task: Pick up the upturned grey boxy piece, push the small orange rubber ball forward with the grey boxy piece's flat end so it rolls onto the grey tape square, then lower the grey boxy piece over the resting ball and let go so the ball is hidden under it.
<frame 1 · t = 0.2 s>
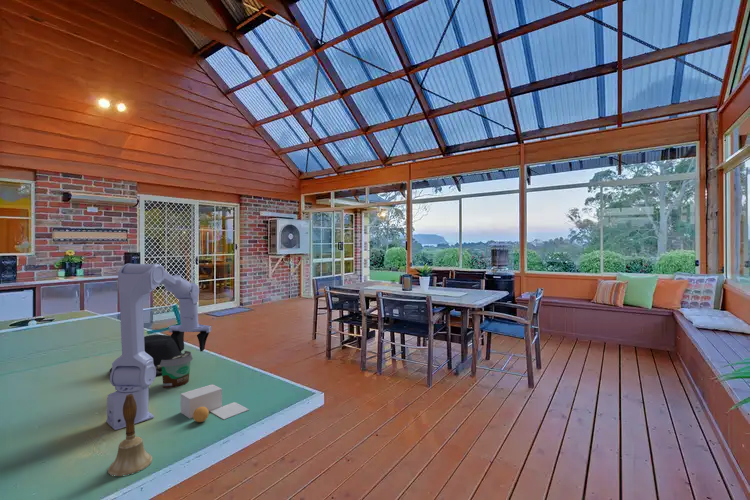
hand: (192, 350, 133), 11 cm above the table, tool pointing down, fingers open, 7 cm apart
ball: (201, 414, 101), on the table
fedora: (152, 368, 144), on the table
food container: (180, 384, 128), on the table
grey boxy piece: (201, 409, 108), on the table
hand bell: (130, 466, 81), on the table
tape mark: (229, 410, 108), on the table
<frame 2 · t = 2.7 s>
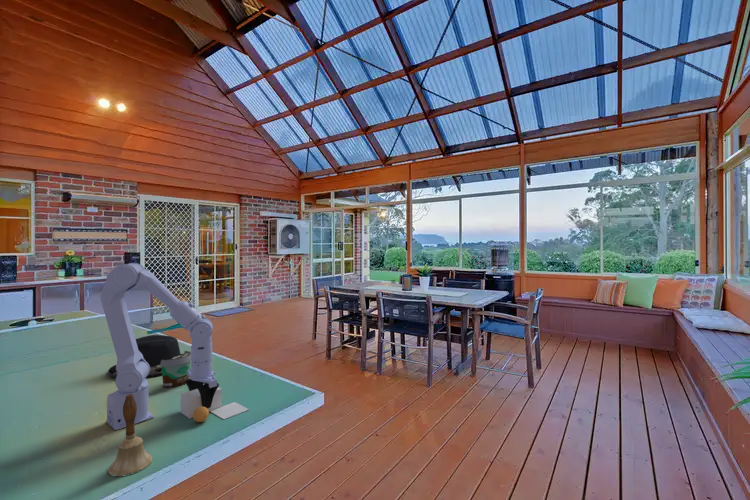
hand: (201, 405, 108), 1 cm above the table, tool pointing down, fingers closed on grey boxy piece, 6 cm apart
grey boxy piece: (201, 409, 108), on the table, touching gripper
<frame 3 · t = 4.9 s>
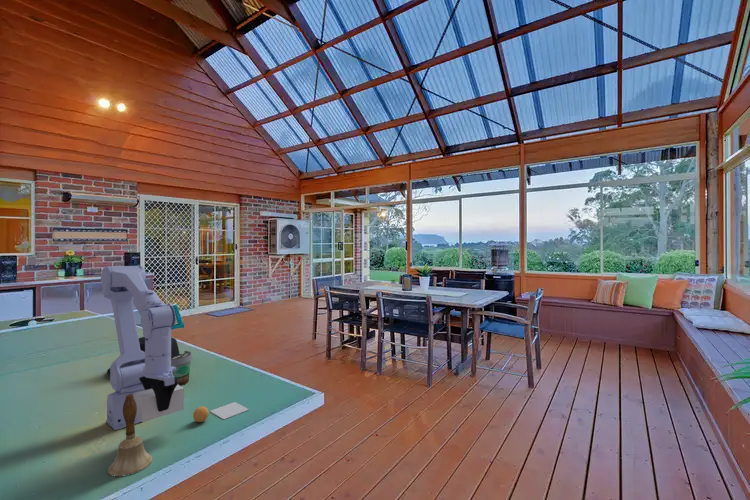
hand: (158, 406, 92), 8 cm above the table, tool pointing down, fingers closed on grey boxy piece, 6 cm apart
grey boxy piece: (159, 412, 92), point 6 cm above the table, touching gripper
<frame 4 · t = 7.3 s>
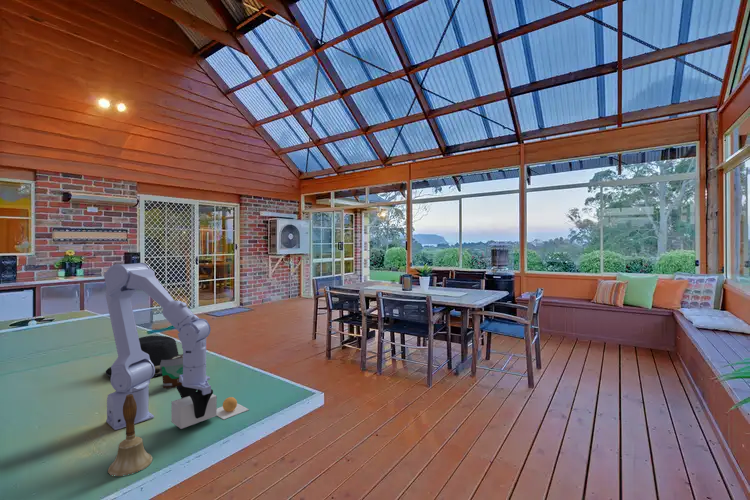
hand: (194, 413, 100), 3 cm above the table, tool pointing down, fingers closed on grey boxy piece, 6 cm apart
ball: (229, 404, 107), on the table
grey boxy piece: (194, 418, 100), point 1 cm above the table, touching gripper
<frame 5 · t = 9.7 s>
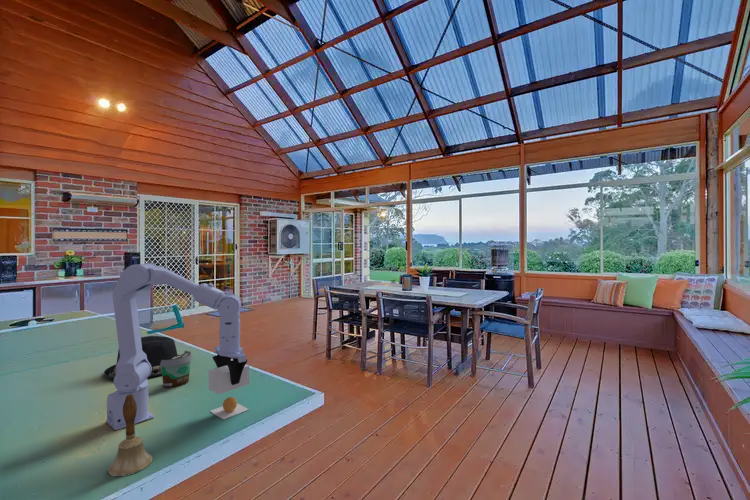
hand: (229, 381, 108), 9 cm above the table, tool pointing down, fingers closed on grey boxy piece, 6 cm apart
grey boxy piece: (229, 386, 107), point 7 cm above the table, touching gripper
when the fingers open (2 cm above the table, at t = 11.9 s): grey boxy piece stays where it is, on the table.
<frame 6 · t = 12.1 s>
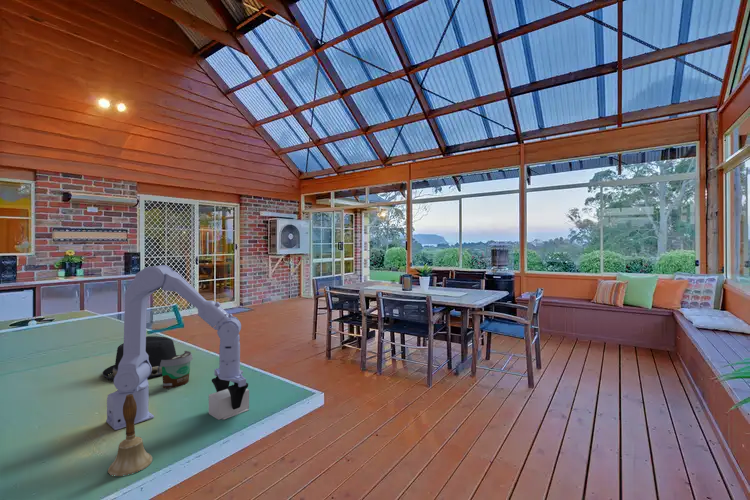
hand: (229, 404, 108), 2 cm above the table, tool pointing down, fingers open, 7 cm apart
grey boxy piece: (229, 410, 108), on the table
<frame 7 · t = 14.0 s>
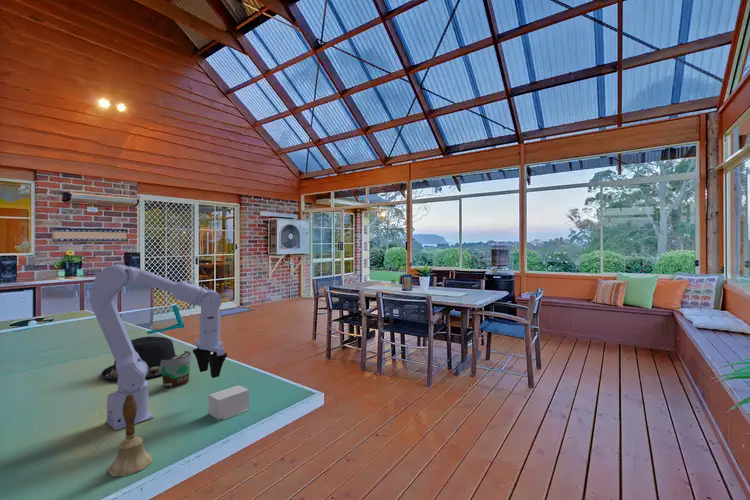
hand: (209, 374, 111), 10 cm above the table, tool pointing down, fingers open, 7 cm apart
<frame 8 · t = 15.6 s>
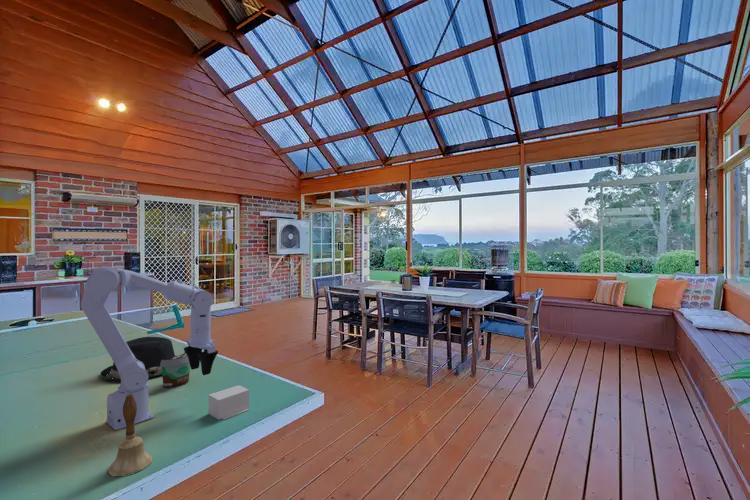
hand: (200, 371, 113), 10 cm above the table, tool pointing down, fingers open, 7 cm apart
at the end: ball 0.3 cm from the grey boxy piece (horizontally); grey boxy piece on the table; ball moved 8.5 cm from its start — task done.
